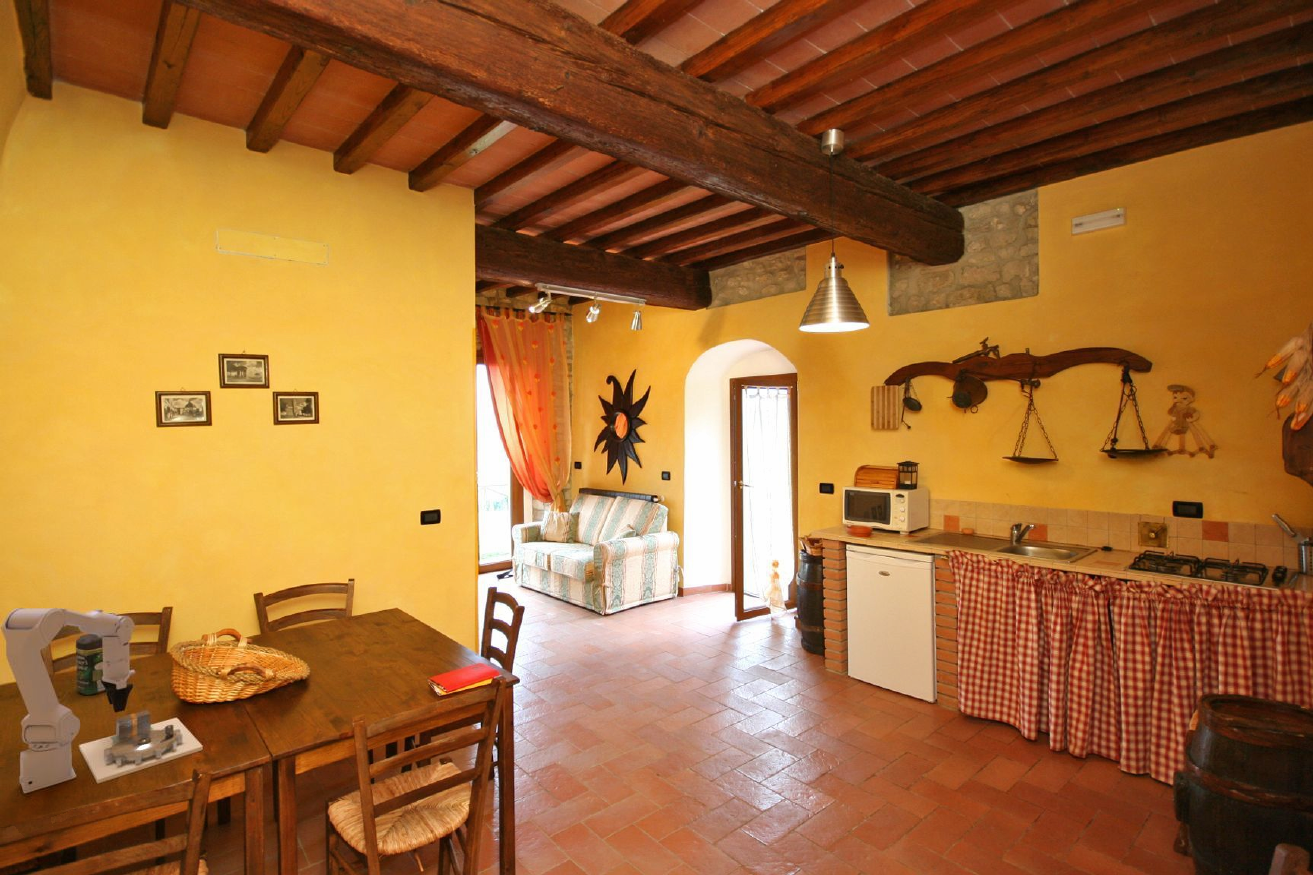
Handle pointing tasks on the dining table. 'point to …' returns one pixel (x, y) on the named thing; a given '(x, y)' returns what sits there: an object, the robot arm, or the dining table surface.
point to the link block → (132, 724)
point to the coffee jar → (89, 664)
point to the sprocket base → (105, 772)
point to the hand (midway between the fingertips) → (117, 707)
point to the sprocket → (143, 746)
